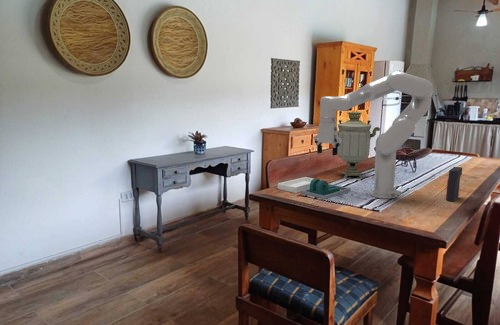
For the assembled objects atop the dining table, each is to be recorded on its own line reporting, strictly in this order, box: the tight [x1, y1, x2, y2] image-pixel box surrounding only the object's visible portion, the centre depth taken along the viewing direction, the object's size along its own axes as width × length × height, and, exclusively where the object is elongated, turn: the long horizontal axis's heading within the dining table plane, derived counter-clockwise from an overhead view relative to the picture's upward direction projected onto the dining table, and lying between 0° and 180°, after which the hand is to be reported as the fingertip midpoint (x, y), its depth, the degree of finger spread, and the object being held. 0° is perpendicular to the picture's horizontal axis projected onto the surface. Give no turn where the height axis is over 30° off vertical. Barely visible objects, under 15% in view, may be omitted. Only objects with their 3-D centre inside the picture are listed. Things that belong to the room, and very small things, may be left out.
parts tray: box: [277, 176, 314, 194], centre depth 202 cm, size 13×24×3 cm, turn 132°
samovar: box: [337, 111, 381, 179], centre depth 227 cm, size 30×26×40 cm
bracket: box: [310, 178, 341, 196], centre depth 190 cm, size 18×7×8 cm, turn 126°
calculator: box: [445, 166, 463, 202], centre depth 174 cm, size 11×4×15 cm, turn 141°
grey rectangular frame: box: [301, 183, 352, 200], centre depth 190 cm, size 15×23×2 cm, turn 132°
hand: (327, 154), depth 187 cm, fingers open, 9 cm apart
